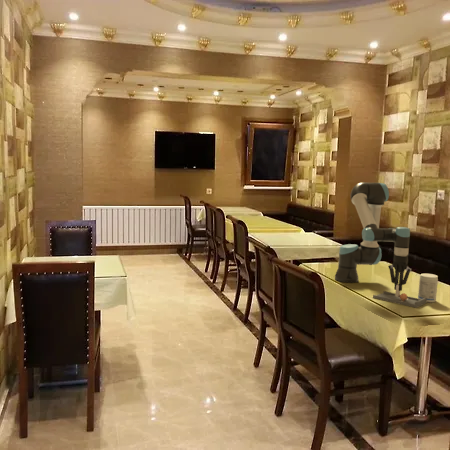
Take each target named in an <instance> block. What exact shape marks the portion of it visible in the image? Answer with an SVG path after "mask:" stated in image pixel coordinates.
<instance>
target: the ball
mask: <svg viewBox="0 0 450 450" xmlns="http://www.w3.org/2000/svg"><path fill="white" fill-rule="evenodd" d="M407 296H408V295H407V294H406V293H404V292H403V293H400V299H401V300H403V301H405V300H407Z"/></svg>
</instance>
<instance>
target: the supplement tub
mask: <svg viewBox="0 0 450 450" xmlns="http://www.w3.org/2000/svg"><path fill="white" fill-rule="evenodd" d="M438 277H439V276H438V275H436V274H433V273H421V274H420V275H419V281H418V282H419V284H418V294H417V298H418V299H423V298H427V299H426V303H435V302H437V292H438V282H439V279H438Z"/></svg>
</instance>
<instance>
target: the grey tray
mask: <svg viewBox="0 0 450 450" xmlns="http://www.w3.org/2000/svg"><path fill="white" fill-rule="evenodd" d="M395 293H396V292H390V291H385V290H383V291H382V293H380V294H373V295H372V299H376V298H377V300H380V299H381V301H384V302H385V301H386V302H390V303H393V304H394V303H395V304H397V305H398V304H399V305H403V306H406V307H410V308H411V307H412V308H415V309H416V308H419V307H421V306H423V305H426V304H427V302H426V299H427V298H423V299H418V297H417V298H416V297H412V296H408V295H407V300H405V301H403V300H401V299H400V296H398V297H397V296H395Z"/></svg>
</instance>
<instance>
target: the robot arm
mask: <svg viewBox="0 0 450 450" xmlns="http://www.w3.org/2000/svg"><path fill="white" fill-rule="evenodd" d="M349 197H350V201H351V203H352V204H353V205H354V207H355V210H356V212H357V215H358V217H359V220H360V222H361V225H362V228H363V229H362V230H361V237H362V242H360V244H359V245H360V246H359V245H358V244H355V243H354V244H351V243H348V244H343V245H341V246H340V247H339V252H338V266H337V270H336V272H335V275H334V280H335V279H336V280H335V281H337V280H338V281H337V282H340V283H341V282H342V283H357V282H359V275H358V271H357V267H358V266H357V265H359V266H360V265H363V266H364V265H366V266H372V265H373V266H375V265H378V264H379V263H380V261H381V259H382V255H383V254H382V253H383V252H382V249H381V247H380V245H379V244H378V242H393V243H394V246H393V247H394V248H393V250H394V251H393V259H392V260H393V262H392V263H391V265H390V264H389V265H388V269H389V274H390V282H391V283H393V284H394V290H395V292H394V293H395V296H397V297H398V296H400V295H401V291H402V290H403V286H404V285H406V284H407V281H408V279H409V275H410V273H411V272H412V271H413V270H412V269H413V268H410V267H409V264H408V263H409V249H410V239H411V237H410V236H411V229H410V228H409V227H406V226H398V227H396V228H395V227H389V228H385V227H384V228H381V227H380V220H381V212H382V207H384V206H385V202H387V201H388V200H389V199H390V198H389V197H390V192H389V188H388V186H387V183H383V182H366V181H363V182H359V183H356V184H355V185H354V186H353V187H352V188H351V192H350V196H349ZM404 273H405V274H404Z"/></svg>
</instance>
